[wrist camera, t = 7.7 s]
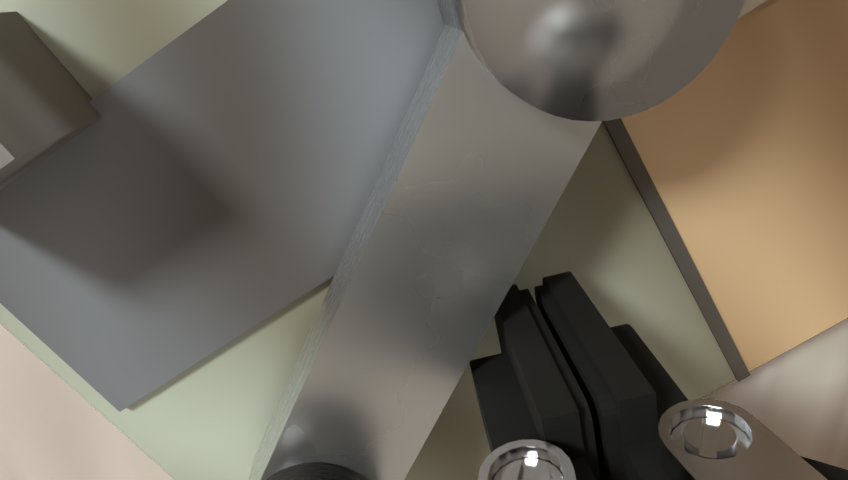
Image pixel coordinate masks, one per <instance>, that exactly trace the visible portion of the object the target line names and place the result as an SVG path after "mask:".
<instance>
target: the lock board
mask: <svg viewBox="0 0 848 480" xmlns="http://www.w3.org/2000/svg"><path fill="white" fill-rule="evenodd" d="M444 26H445V25H444V23H443V20H442V18H441V14H440V11H439V7H438V3H437V0H0V324H1V325H2V326H3V327H4V328H6V329H7V330H8V331H9V332H10V333H11V334H12V335H13V336H14V337H16V338H17V339H18V340H19V341H20V342H21V343H22V344H23V345H25V346H26V347H27V348H28V349H29V350H30V351H31V352H32V353H33V354H35V355H36V356H37V357H38V358H39V359H40V360H41V361H42V362H44V363H45V364H46V365H47V366H48V367H49V368H50V369H51V370H52V371H54V372H55V373H56V374H57V375H58V376H59V377H60V378H61V379H62V380H64V381H65V382H66V383H67V384H68V385H69V386H70V387H71V388H73V389H74V390H75V391H76V392H77V393H78V394H79V395H80V396H81V397H83V398H84V399H85V400H86V401H87V402H88V403H89V404H90V405H91V406H93V407H94V408H95V409H96V410H97V411H98V412H99V413H100V414H102V415H103V416H104V417H105V418H106V419H107V420H108V421H109V422H110V423H112V424H113V425H114V426H115V427H116V428H117V429H118V430H119V431H120V432H122V433H123V434H124V435H125V436H126V437H127V438H128V439H129V440H131V441H132V442H133V443H134V444H135V445H136V446H137V447H138V448H139V449H141V450H142V451H143V452H144V453H145V454H146V455H147V456H148V457H150V458H151V459H152V460H153V461H154V462H155V463H156V464H157V465H158V466H160V467H161V468H162V469H163V470H164V471H165V472H166V473H167V474H168V475H170V476H171V477H172V478H173V479H174V480H249V475H250V471H251V467H252V463H253V459H254V457H255V454H256V452H257V450H258V448H259V445H260V443H261V441H262V438H263V436H264V434H265V432H266V429H267V427H268V425H269V423H270V420H271V418H272V416H273V413H274V411H275V409H276V407H277V404H278V402H279V400H280V398H281V395H282V393H283V391H284V389H285V386H286V384H287V382H288V379H289V377H290V375H291V373H292V370H293V368H294V366H295V364H296V361H297V359H298V357H299V355H300V352H301V350H302V348H303V345H304V343H305V341H306V339H307V336H308V334H309V332H310V330H311V327H312V325H313V323H314V320H315V318H316V316H317V314H318V311H319V309H320V307H321V305H322V302H323V300H324V298H325V296H326V293H327V291H328V289H329V286H330V284H331V282H332V280H333V277H334V275H335V273H336V271H337V268H338V266H339V264H340V262H341V259H342V257H343V255H344V252H345V250H346V248H347V246H348V243H349V241H350V239H351V237H352V234H353V232H354V230H355V228H356V225H357V223H358V221H359V218H360V216H361V214H362V212H363V209H364V207H365V205H366V203H367V200H368V198H369V196H370V193H371V191H372V189H373V187H374V184H375V182H376V180H377V178H378V175H379V173H380V171H381V169H382V166H383V164H384V162H385V159H386V157H387V155H388V153H389V150H390V148H391V146H392V144H393V141H394V139H395V137H396V135H397V132H398V130H399V128H400V125H401V123H402V121H403V119H404V116H405V114H406V112H407V110H408V107H409V105H410V103H411V100H412V98H413V96H414V94H415V91H416V89H417V87H418V85H419V82H420V80H421V78H422V76H423V73H424V71H425V69H426V66H427V64H428V62H429V60H430V57H431V55H432V53H433V51H434V48H435V46H436V44H437V42H438V39H439V37H440V35H441V32H442V30H443V28H444ZM568 271H570V272H571V273H572V274H573V276H574V277H575V278H576V280H577V281H578V283H579V284H580V286H581V287H582V288H583V290H584V291H585V293H586V294H587V296H588V297H589V298H590V300H591V301H592V303H593V304H594V305H595V307H596V308H597V310H598V311H599V313H600V314H601V315H602V317H603V318H604V320H605V321H606V323H607V324H608V325H609V327H614V326H618V325H623V324H629V325H630V326H631V327H632V328H633V329H634V330H635V331H636V332H637V334H638V335H639V336H640V338H641V339H642V340H643V342H644V343H645V344H646V345H647V347H648V348H649V349H650V351H651V352H652V353H653V355H654V356H655V357H656V358H657V360H658V361H659V362H660V364H661V365H662V366H663V368H664V369H665V370H666V371H667V373H668V374H669V375H670V377H671V378H672V379H673V381H674V382H675V383H676V384H677V386H678V387H679V388H680V390H681V391H682V392H683V394H684V395H685V396H686V397H687V399H688V400H693V399H700V398H702V397H704V396H706V395H708V394H709V393H711V392H713V391H715V390H717V389H719V388H720V387H722V386H724V385H726V384H728V383H730V382H731V381H733V380H735V379H736V380H737V381H738V382H739V381H740V380H742V379H744V378H746V377H748V376H749V375H750V373H749V372H750V371H751V370H753V369H755V368H757V367H759V366H761V365H762V364H764V363H766V362H768V361H770V360H771V359H773V358H775V357H777V356H779V355H781V354H782V353H784V352H786V351H788V350H790V349H792V348H793V347H795V346H797V345H799V344H801V343H802V342H804V341H806V340H808V339H810V338H812V337H813V336H815V335H817V334H819V333H821V332H823V331H824V330H826V329H828V328H830V327H832V326H833V325H835V324H837V323H839V322H841V321H843V320H844V319H846V318H848V0H745V1H744V4H743V6H742V9H741V11H740V14H739V16H738V19H737V21H736V23H735V25H734V26H733V28H732V30H731V32H730V34H729V36H728V38H727V39H726V41H725V42H724V44H723V45H722V47H721V48H720V50H719V51H718V53H717V54H716V55H715V56H714V58H713V59H712V60H711V61H710V62H709V64H708V65H707V66H706V67H705V68H704V70H703V71H702V72H700V73H699V74H698V75H697V76H696V77H695V78H694V79H693V80H692V81H691V82H690V83H689V84H688V85H686V86H685V87H684V88H682V89H681V90H680V91H679V92H677V93H676V94H675V95H673V96H671V97H670V98H668V99H667V100H665V101H663V102H662V103H660V104H658V105H656V106H654V107H652V108H649V109H647V110H645V111H643V112H640V113H637V114H634V115H631V116H628V117H624V118H619V119H613V120H608V121H602V122H601V124H600V126H599V128H598V130H597V131H596V133H595V135H594V137H593V139H592V140H591V142H590V144H589V146H588V148H587V150H586V151H585V153H584V155H583V157H582V159H581V160H580V162H579V164H578V166H577V168H576V169H575V171H574V173H573V175H572V177H571V178H570V180H569V182H568V184H567V186H566V188H565V189H564V191H563V193H562V195H561V197H560V198H559V200H558V202H557V204H556V206H555V207H554V209H553V211H552V213H551V215H550V217H549V218H548V220H547V222H546V224H545V226H544V227H543V229H542V231H541V233H540V235H539V236H538V238H537V240H536V242H535V244H534V245H533V247H532V249H531V251H530V253H529V255H528V256H527V258H526V260H525V262H524V264H523V265H522V267H521V269H520V271H519V273H518V274H517V276H516V278H515V280H514V282H513V284H512V285H514V284H516V285H517V287H518V289H519V290H523V289H529V291H530V293H531V295H532V297H533V299H534V301H535V303H536V298H535V292H534V287H536V286H540V285H543V284H542V279H543V277H547V276H551V275H556V274H560V273H564V272H568ZM500 353H501V348H500V343H499V338H498V333H497V328H496V323H495V318H493V320H492V322H491V323H490V325H489V327H488V329H487V331H486V332H485V334H484V336H483V338H482V340H481V341H480V343H479V345H478V347H477V349H476V350H475V352H474V354H473V356H472V358H471V360H474V359H479V358H483V357H487V356H491V355H496V354H500ZM489 454H491V451H490V447H489V443H488V439H487V435H486V431H485V428H484V424H483V420H482V415H481V411H480V407H479V403H478V399H477V394H476V390H475V386H474V381H473V377H472V373H471V368H470V363H468V365H467V367H466V369H465V370H464V372H463V374H462V376H461V378H460V379H459V381H458V383H457V385H456V387H455V389H454V390H453V392H452V394H451V396H450V398H449V399H448V401H447V403H446V405H445V407H444V408H443V410H442V412H441V414H440V416H439V417H438V419H437V421H436V423H435V425H434V427H433V428H432V430H431V432H430V434H429V436H428V437H427V439H426V441H425V443H424V445H423V446H422V448H421V450H420V452H419V454H418V456H417V457H416V459H415V461H414V463H413V465H412V466H411V468H410V470H409V472H408V474H407V475H406V477H405V479H404V480H478V476H479V470H480V467H481V465H482V464H483V462H484V460H485V458H486V457H487V456H488V455H489Z"/></svg>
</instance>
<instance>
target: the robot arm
mask: <svg viewBox="0 0 848 480" xmlns="http://www.w3.org/2000/svg"><path fill="white" fill-rule="evenodd" d="M542 284H543V285H540V286H536V287H534V292H535V298H536V303H535V301H534V299H533V297H532V295H531V293H530V291H529V289H523V290H519V289H518V287H517V285H516V284H514V285H511V287H510V289H509V291H508V293H507V294H506V296H505V298H504V300H503V302H502V303H501V305H500V307H499V309H498V311H497V312H496V314H495V316H494V318H495V323H496V328H497V333H498V338H499V343H500V348H501V353H500V354H496V355H491V356H487V357H483V358H479V359H474V360H470V361H469V363H470V368H471V373H472V377H473V381H474V386H475V390H476V394H477V399H478V403H479V407H480V411H481V415H482V420H483V424H484V428H485V431H486V435H487V439H488V443H489V447H490V451H491V454H489V455H488V456H487V457H486V458H485V460H484V462H483V464H482V465H481V467H480V470H479V476H478V480H848V470H845V469H842V468H838V467H835V466H832V465H828V464H825V463H822V462H818V461H815V460H811V459H808V458H805V457H801V456H799V455H798V454H797V453H796V452H794V451H793V450H792V449H791V448H790V447H789V446H787V445H786V444H785V443H784V442H783V441H782V440H780V439H779V438H778V437H777V436H776V435H774V434H773V433H772V432H771V431H770V430H769V429H767V428H766V427H765V426H764V425H763V424H761V423H760V422H759V421H758V420H757V419H756V418H754V417H753V416H752V415H751V414H749V413H748V412H746V411H744V410H743V409H741V408H740V407H737V406H735V405H732V404H730V403H727V402H724V401H718V400H712V399H693V400H688V399H687V397H686V396H685V395H684V394H683V392H682V391H681V390H680V388H679V387H678V386H677V384H676V383H675V382H674V381H673V379H672V378H671V377H670V375H669V374H668V373H667V371H666V370H665V369H664V368H663V366H662V365H661V364H660V362H659V361H658V360H657V358H656V357H655V356H654V355H653V353H652V352H651V351H650V349H649V348H648V347H647V345H646V344H645V343H644V342H643V340H642V339H641V338H640V336H639V335H638V334H637V332H636V331H635V330H634V329H633V328H632V327H631V326H630V325H629V324H623V325H618V326H614V327H609V325H608V324H607V323H606V321H605V320H604V318H603V317H602V315H601V314H600V313H599V311H598V310H597V308H596V307H595V305H594V304H593V303H592V301H591V300H590V298H589V297H588V296H587V294H586V293H585V291H584V290H583V288H582V287H581V286H580V284H579V283H578V281H577V280H576V278H575V277H574V276H573V274H572V273H571V272H570V271H568V272H564V273H560V274H556V275H551V276H547V277H543V279H542Z"/></svg>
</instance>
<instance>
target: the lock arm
mask: <svg viewBox="0 0 848 480" xmlns="http://www.w3.org/2000/svg"><path fill="white" fill-rule="evenodd" d="M744 1H745V0H437V3H438V7H439V11H440V14H441V18H442V20H443V23H444V25H445V26H444V28H443V30H442V32H441V35H440V37H439V39H438V42H437V44H436V46H435V48H434V51H433V53H432V55H431V57H430V60H429V62H428V64H427V66H426V69H425V71H424V73H423V76H422V78H421V80H420V82H419V85H418V87H417V89H416V91H415V94H414V96H413V98H412V100H411V103H410V105H409V107H408V110H407V112H406V114H405V116H404V119H403V121H402V123H401V125H400V128H399V130H398V132H397V135H396V137H395V139H394V141H393V144H392V146H391V148H390V150H389V153H388V155H387V157H386V159H385V162H384V164H383V166H382V169H381V171H380V173H379V175H378V178H377V180H376V182H375V184H374V187H373V189H372V191H371V193H370V196H369V198H368V200H367V203H366V205H365V207H364V209H363V212H362V214H361V216H360V218H359V221H358V223H357V225H356V228H355V230H354V232H353V234H352V237H351V239H350V241H349V243H348V246H347V248H346V250H345V252H344V255H343V257H342V259H341V262H340V264H339V266H338V268H337V271H336V273H335V275H334V277H333V280H332V282H331V284H330V286H329V289H328V291H327V293H326V296H325V298H324V300H323V302H322V305H321V307H320V309H319V311H318V314H317V316H316V318H315V320H314V323H313V325H312V327H311V330H310V332H309V334H308V336H307V339H306V341H305V343H304V345H303V348H302V350H301V352H300V355H299V357H298V359H297V361H296V364H295V366H294V368H293V370H292V373H291V375H290V377H289V379H288V382H287V384H286V386H285V389H284V391H283V393H282V395H281V398H280V400H279V402H278V404H277V407H276V409H275V411H274V413H273V416H272V418H271V420H270V423H269V425H268V427H267V429H266V432H265V434H264V436H263V438H262V441H261V443H260V445H259V448H258V450H257V452H256V454H255V457H254V459H253V463H252V467H251V471H250V475H249V480H404V479H405V477H406V475H407V474H408V472H409V470H410V468H411V466H412V465H413V463H414V461H415V459H416V457H417V456H418V454H419V452H420V450H421V448H422V446H423V445H424V443H425V441H426V439H427V437H428V436H429V434H430V432H431V430H432V428H433V427H434V425H435V423H436V421H437V419H438V417H439V416H440V414H441V412H442V410H443V408H444V407H445V405H446V403H447V401H448V399H449V398H450V396H451V394H452V392H453V390H454V389H455V387H456V385H457V383H458V381H459V379H460V378H461V376H462V374H463V372H464V370H465V369H466V367H467V365H468V363H469V361H470V360H471V358H472V356H473V354H474V352H475V350H476V349H477V347H478V345H479V343H480V341H481V340H482V338H483V336H484V334H485V332H486V331H487V329H488V327H489V325H490V323H491V322H492V320H493V318H494V316H495V314H496V312H497V311H498V309H499V307H500V305H501V303H502V302H503V300H504V298H505V296H506V294H507V293H508V291H509V289H510V287H511V285H512V284H513V282H514V280H515V278H516V276H517V274H518V273H519V271H520V269H521V267H522V265H523V264H524V262H525V260H526V258H527V256H528V255H529V253H530V251H531V249H532V247H533V245H534V244H535V242H536V240H537V238H538V236H539V235H540V233H541V231H542V229H543V227H544V226H545V224H546V222H547V220H548V218H549V217H550V215H551V213H552V211H553V209H554V207H555V206H556V204H557V202H558V200H559V198H560V197H561V195H562V193H563V191H564V189H565V188H566V186H567V184H568V182H569V180H570V178H571V177H572V175H573V173H574V171H575V169H576V168H577V166H578V164H579V162H580V160H581V159H582V157H583V155H584V153H585V151H586V150H587V148H588V146H589V144H590V142H591V140H592V139H593V137H594V135H595V133H596V131H597V130H598V128H599V126H600V124H601V122H602V121H608V120H613V119H619V118H624V117H628V116H631V115H634V114H637V113H640V112H643V111H645V110H647V109H649V108H652V107H654V106H656V105H658V104H660V103H662V102H663V101H665V100H667V99H668V98H670V97H671V96H673V95H675V94H676V93H677V92H679V91H680V90H681V89H682V88H684V87H685V86H686V85H688V84H689V83H690V82H691V81H692V80H693V79H694V78H695V77H696V76H697V75H698V74H699V73H700V72H702V71H703V70H704V68H705V67H706V66H707V65H708V64H709V62H710V61H711V60H712V59H713V58H714V56H715V55H716V54H717V53H718V51H719V50H720V48H721V47H722V45H723V44H724V42H725V41H726V39H727V38H728V36H729V34H730V32H731V30H732V28H733V26H734V25H735V23H736V21H737V19H738V16H739V14H740V11H741V9H742V6H743V4H744Z"/></svg>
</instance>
